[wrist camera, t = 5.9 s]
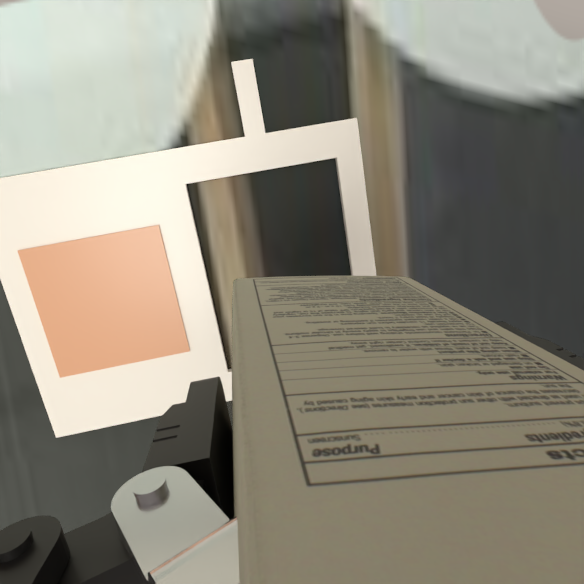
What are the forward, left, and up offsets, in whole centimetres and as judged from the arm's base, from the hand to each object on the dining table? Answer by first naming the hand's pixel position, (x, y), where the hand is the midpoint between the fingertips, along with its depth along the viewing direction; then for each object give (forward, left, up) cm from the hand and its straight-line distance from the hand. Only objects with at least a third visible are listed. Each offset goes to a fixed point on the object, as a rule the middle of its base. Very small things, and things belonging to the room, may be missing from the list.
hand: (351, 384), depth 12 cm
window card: (+5, -2, -17) cm, 18 cm away
